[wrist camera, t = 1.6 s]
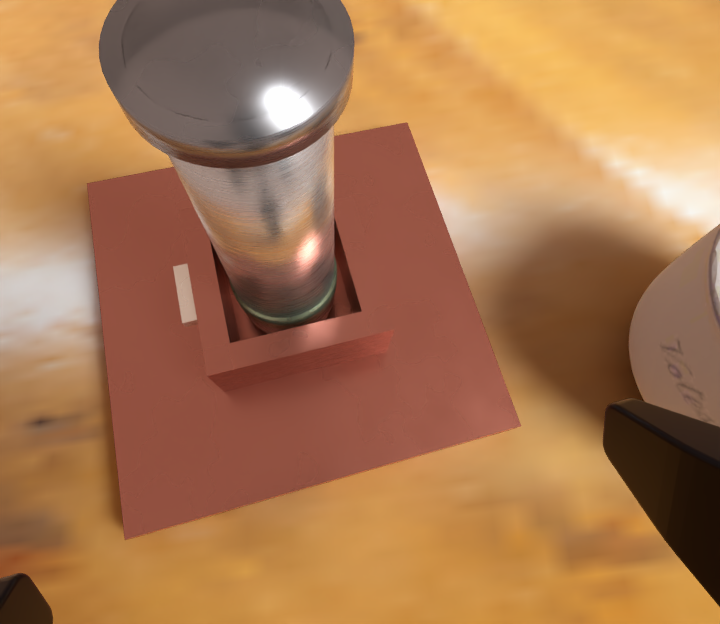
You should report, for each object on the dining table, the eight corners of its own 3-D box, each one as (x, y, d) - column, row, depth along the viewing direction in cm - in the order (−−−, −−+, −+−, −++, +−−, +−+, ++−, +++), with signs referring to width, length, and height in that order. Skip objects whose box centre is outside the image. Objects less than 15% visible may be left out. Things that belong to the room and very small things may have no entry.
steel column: (355, 331, 21) (384, 113, 9) (244, 358, 21) (113, 163, 8) (328, 235, 23) (321, -63, 11) (224, 258, 22) (87, -32, 10)
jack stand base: (511, 429, 22) (550, 415, 18) (136, 537, 19) (86, 548, 15) (404, 138, 27) (416, 76, 23) (98, 197, 25) (53, 141, 21)
